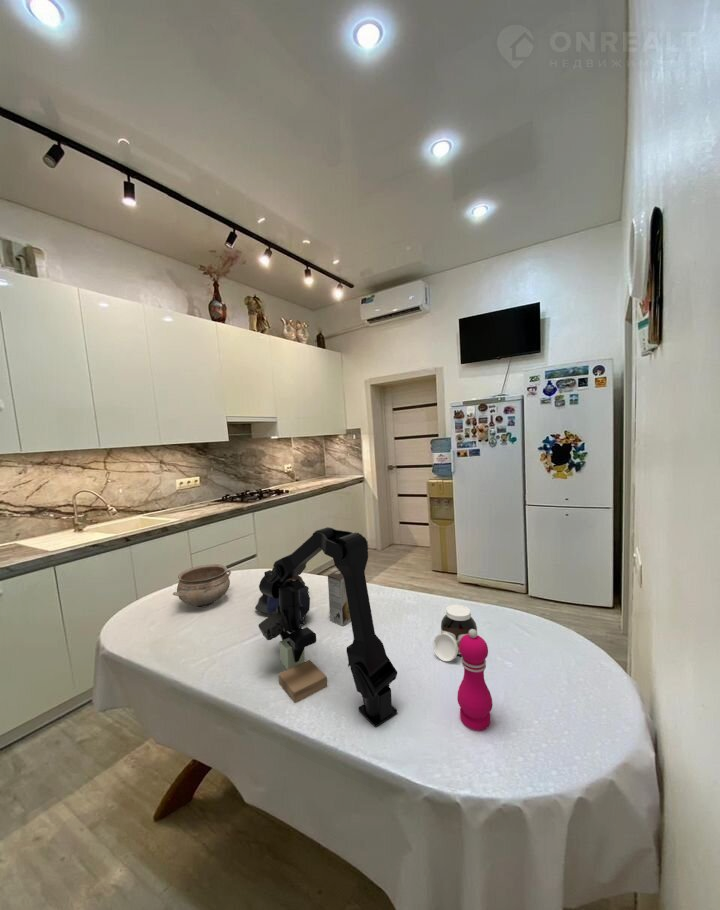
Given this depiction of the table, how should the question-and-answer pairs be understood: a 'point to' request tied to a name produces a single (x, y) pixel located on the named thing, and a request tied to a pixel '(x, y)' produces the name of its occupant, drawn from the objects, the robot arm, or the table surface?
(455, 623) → the spread jar
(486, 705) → the pepper mill
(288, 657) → the sage cube
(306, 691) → the walnut block
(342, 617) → the coffee box
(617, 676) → the table surface
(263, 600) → the casserole
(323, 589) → the table surface
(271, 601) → the decorative orb
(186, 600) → the cooking pot
